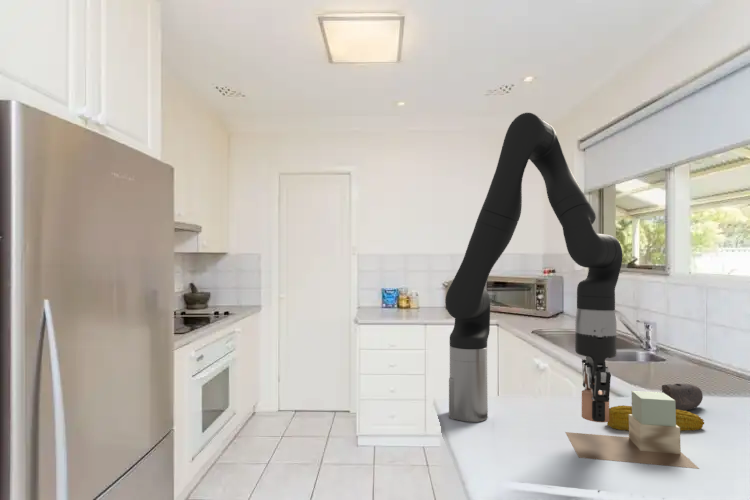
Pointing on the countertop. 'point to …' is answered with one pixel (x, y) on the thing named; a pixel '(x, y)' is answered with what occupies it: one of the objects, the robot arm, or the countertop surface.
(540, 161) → the robot arm
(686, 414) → the food
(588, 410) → the peach rounded cylinder
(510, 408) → the countertop surface
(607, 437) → the board
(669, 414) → the top block
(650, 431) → the base block
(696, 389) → the perforated stone tool
